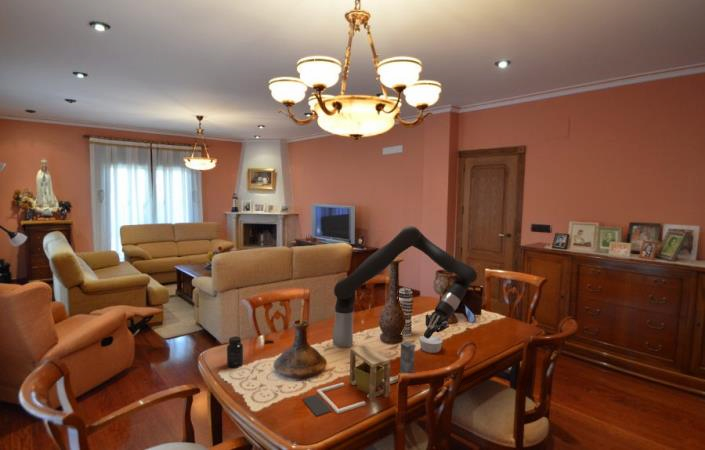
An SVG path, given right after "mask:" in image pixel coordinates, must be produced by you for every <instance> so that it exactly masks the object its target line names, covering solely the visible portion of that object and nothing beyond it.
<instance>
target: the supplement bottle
mask: <svg viewBox="0 0 705 450" xmlns="http://www.w3.org/2000/svg"><path fill="white" fill-rule="evenodd" d="M241 340H242V338H241V337H240V336H231V337H230V338H229V339H228V344H227V345H226V366H227V367H228V368H231V369H236V368H240V367H242V366H243V364H244V344H243V343H242V341H241Z"/></svg>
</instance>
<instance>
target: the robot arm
mask: <svg viewBox="0 0 705 450" xmlns="http://www.w3.org/2000/svg"><path fill="white" fill-rule="evenodd" d="M411 247H413V248H416V249H417V250H419V251H421V252H422V253H424V254H425V255H426V256H427V257H428V258H429V259H431V261H433V262H434V263H435V264H437V265H438V266H439V267H441V268H442V269H443V270H444V271H446V272H448V273H449V274H455V275H457V276H456V278H455V279H454V281H453V283H452V284H451V286H450V287H449V288H448V289H447V291H446V293H444V295H443V296H442V297H441V299H440V300H439V301H438V303H437V304H436V306H435V308H434V311H433V312H432V313H431V314H428V313H427V314H425V327H426V330H425V331H424V332H423V335H424V337H425V338H427V339H429V338H430V337H431V335H433V334H434V333H440V332H442V331H444V330H446V329H448V328H449V327H450V325H449V324H448V320H449V319H451V317H452V316H453V315H454V313H455V311H456V310H457V309H458V307H459V305H460V303H461V301H462V300H463V298H465V295H466V292H467V291H468V289H469V288H470V286H471V285H472V284H473V283H474V282H475V281H476V280H477V279H478V273H477V271H476V270H475V268H473V267H472V266H470V265H468V264H466V263H464V262H462V261H460V260H458V259H457V258H455V257H454V256H453V255H451V254H450V253H448V252H447V251H445V250H444V249H442V248H440V247H439V246H437V245H436V244H434V243H433V242H432V241H431V240H430V239H428V238H427V237H426V236H425V235H424V234H423V233H422V232H421V231H420V229H419V228H417V227H415V226H412V225H411V226H410V225H409V226H405V227H404V228H402V230H400V232H399V233H398V234H397V235H396V236H395V237H393V239H391V240H390V241H389V242H388V243H387V244H385V245H383V246H382V247H380V248H379V249H378V250H376V251H374V252H373V253H372V254H371V255H369V256H368V257H367V258H366V259H365V260H364V261H363V262H362V263H361V264H360V265H358V267H357V268H356V269H354V271H353V272H352V273H350V274H349V275H348V276H347V277H343V278H341V279H340V280H338V282H336V283H335V285H334V287H333V288H334V289H333V293H334V294H333V295H334V296H335V297H336V303H335V305H334V324H333V325H332V344H333V345H334V346H336V347H338V348H349V347H351V346H353V337H354V307H355V303H356V301H355V300H356V291H357V290H358V289H359V288H360V287H361V286H363V285H365V284H366V283H367V282H369V281H371V280H372V279H373V278H375V277H376V276H377V275H379V274H381V273H382V271H384V270H385V269H387V268H388V267H389V266H390V264H392V263H393V262H394V261H395V259H396V258H397V257H399V255H400V254H402V253H403V252H405V251H406V250H408V249H410V248H411Z"/></svg>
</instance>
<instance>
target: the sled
mask: <svg viewBox="0 0 705 450" xmlns="http://www.w3.org/2000/svg"><path fill="white" fill-rule="evenodd" d="M415 346H416V345H415V343H412V342H410V341H405V342H401V343H400V359H399V360H400V364H399V374H400V373H414V372H415V354H416V353H415V352H416V351H415V349H416V347H415ZM399 374H397V375H395V376H390V385H391V384H394V383H398V382H397V379H398V375H399ZM414 374H415V373H414ZM352 386H357V383H356V380H355V381H352ZM379 387H381V388H382V389H380V390H376V394H375V397H376V396H380V395H383V388H384V378H383V379H382V382H381V384H380V386H379ZM389 393H391V387H390V388H389ZM366 394H367V395H366V396H367V397H366V398H368V399H369V393H366Z"/></svg>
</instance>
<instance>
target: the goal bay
mask: <svg viewBox="0 0 705 450" xmlns="http://www.w3.org/2000/svg"><path fill="white" fill-rule="evenodd" d="M344 386H345V383H344V382H339V383H337V384H332V385H329V386H326V387H322V388H318V389H316V393H317V395H318V396H319V397H320V398H321V399H322V400H323V401H324V402H325V403H326V404H327V405H328V407H329V406H330V407H329V408H330V409H331V410H332V411H334V412H335V413H336V414H337V415H338V414H342V413H344V412H347V411H350V410H353V409H357V408H361V407H363V406H365V405H366V401H364V400H362V401H359V402H356V403H354V404H351V405H347V406H344V407H341V408H338V406H337V405H336V404H334V402H333V401H331V399H330V398H329V397H328V396H327V395H326V394H325V393H324V392H327V391H330V390H335V389H338V388H341V387H344Z"/></svg>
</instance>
